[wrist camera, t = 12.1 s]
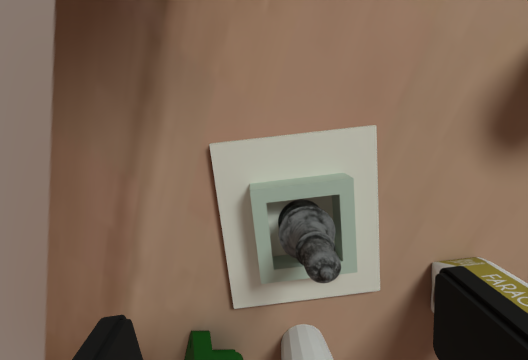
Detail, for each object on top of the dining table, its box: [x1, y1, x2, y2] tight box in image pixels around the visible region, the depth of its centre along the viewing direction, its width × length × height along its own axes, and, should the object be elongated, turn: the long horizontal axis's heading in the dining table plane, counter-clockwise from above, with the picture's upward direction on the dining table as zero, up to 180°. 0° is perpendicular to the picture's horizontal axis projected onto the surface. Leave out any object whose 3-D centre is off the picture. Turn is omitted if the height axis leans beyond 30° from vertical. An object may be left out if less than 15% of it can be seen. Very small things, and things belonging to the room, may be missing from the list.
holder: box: [209, 125, 380, 309], centre depth 32 cm, size 20×18×4 cm
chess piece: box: [278, 199, 341, 283], centre depth 27 cm, size 6×6×12 cm
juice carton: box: [431, 257, 528, 313], centre depth 27 cm, size 8×9×19 cm
